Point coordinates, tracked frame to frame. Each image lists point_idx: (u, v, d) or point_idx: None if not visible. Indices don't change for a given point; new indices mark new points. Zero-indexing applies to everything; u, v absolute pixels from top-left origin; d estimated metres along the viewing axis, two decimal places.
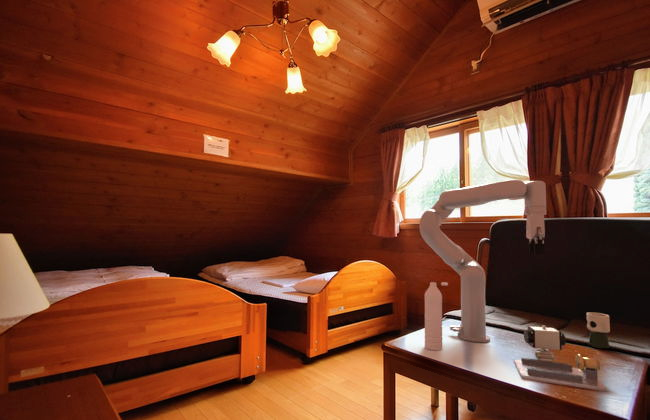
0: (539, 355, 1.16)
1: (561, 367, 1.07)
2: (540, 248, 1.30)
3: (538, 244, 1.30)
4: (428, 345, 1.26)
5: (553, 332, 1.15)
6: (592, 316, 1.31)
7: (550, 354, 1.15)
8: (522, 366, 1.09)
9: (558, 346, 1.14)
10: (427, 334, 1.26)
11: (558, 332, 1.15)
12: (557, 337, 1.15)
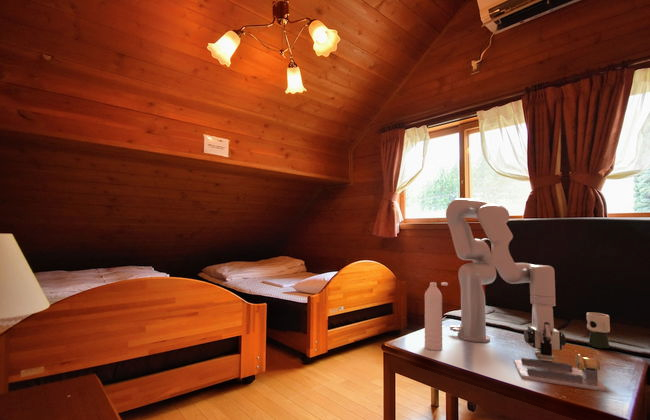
0: (539, 355, 1.16)
1: (561, 367, 1.07)
2: (547, 349, 1.14)
3: (545, 344, 1.14)
4: (428, 345, 1.26)
5: None
6: (592, 316, 1.31)
7: None
8: (522, 366, 1.09)
9: (558, 346, 1.14)
10: (427, 334, 1.26)
11: (558, 332, 1.15)
12: (557, 337, 1.15)
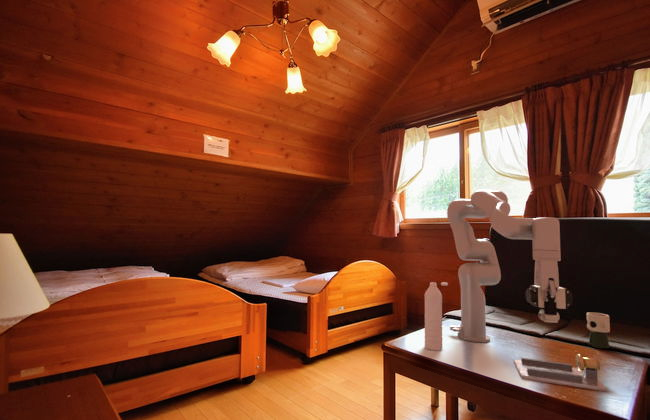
0: (543, 315, 1.05)
1: (561, 367, 1.07)
2: (552, 308, 1.03)
3: (549, 303, 1.03)
4: (428, 345, 1.26)
5: None
6: (592, 316, 1.31)
7: None
8: (522, 366, 1.09)
9: (564, 305, 1.03)
10: (427, 334, 1.26)
11: (564, 289, 1.03)
12: (563, 295, 1.03)
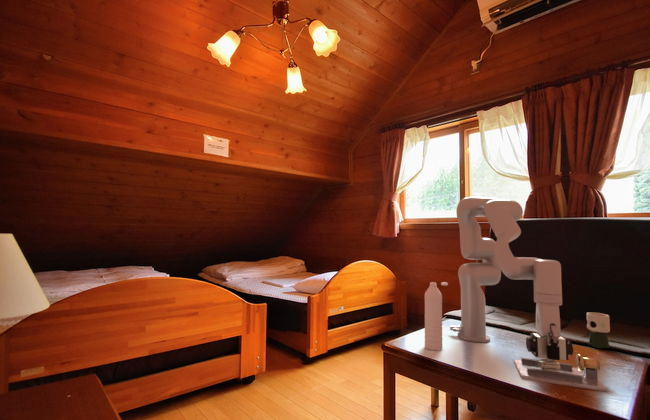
0: (543, 365, 1.04)
1: (561, 367, 1.07)
2: (554, 353, 1.00)
3: (552, 347, 1.01)
4: (428, 345, 1.26)
5: None
6: (592, 316, 1.31)
7: (555, 364, 1.03)
8: (522, 366, 1.09)
9: (564, 356, 1.02)
10: (427, 334, 1.26)
11: (564, 340, 1.02)
12: (563, 345, 1.02)
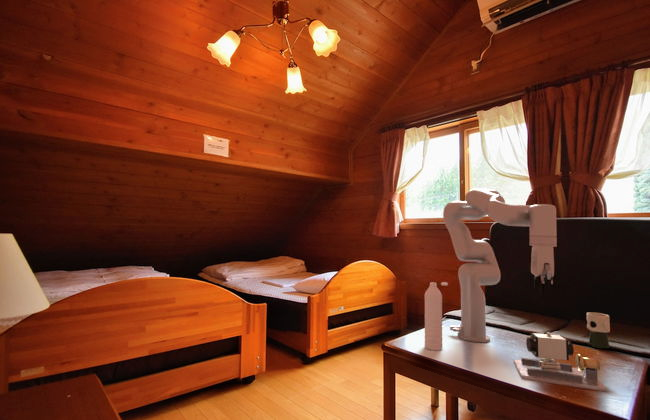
0: (543, 365, 1.04)
1: (561, 367, 1.07)
2: (548, 290, 1.04)
3: (545, 285, 1.04)
4: (428, 345, 1.26)
5: (559, 340, 1.03)
6: (592, 316, 1.31)
7: (556, 365, 1.03)
8: (522, 366, 1.09)
9: (565, 356, 1.02)
10: (427, 334, 1.26)
11: (565, 340, 1.02)
12: (563, 346, 1.02)
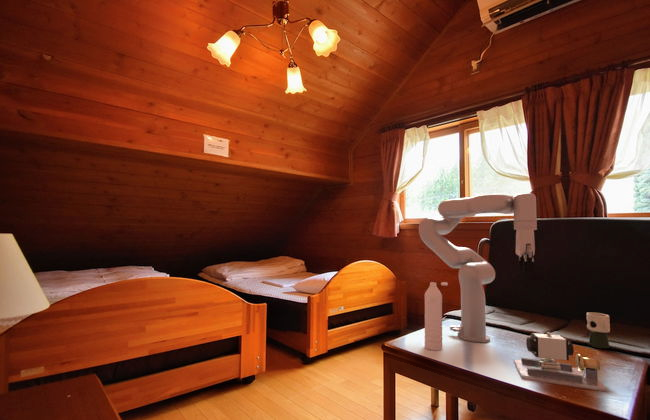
0: (543, 365, 1.04)
1: (561, 367, 1.07)
2: (530, 266, 1.20)
3: (527, 262, 1.20)
4: (428, 345, 1.26)
5: (559, 340, 1.03)
6: (592, 316, 1.31)
7: (556, 365, 1.03)
8: (522, 366, 1.09)
9: (565, 356, 1.02)
10: (427, 334, 1.26)
11: (565, 340, 1.02)
12: (563, 346, 1.02)
